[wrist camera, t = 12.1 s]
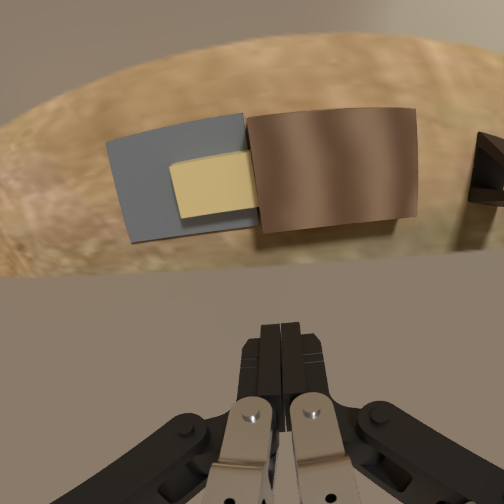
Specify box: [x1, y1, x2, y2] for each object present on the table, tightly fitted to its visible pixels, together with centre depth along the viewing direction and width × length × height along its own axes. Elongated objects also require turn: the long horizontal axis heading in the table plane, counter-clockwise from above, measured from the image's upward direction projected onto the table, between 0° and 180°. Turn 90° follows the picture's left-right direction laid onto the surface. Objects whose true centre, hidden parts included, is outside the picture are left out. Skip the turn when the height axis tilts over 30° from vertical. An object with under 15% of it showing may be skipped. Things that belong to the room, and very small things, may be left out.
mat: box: [106, 113, 259, 243], centre depth 33 cm, size 15×12×1 cm
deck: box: [247, 107, 418, 234], centre depth 30 cm, size 16×11×4 cm
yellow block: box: [169, 149, 259, 219], centre depth 31 cm, size 8×6×2 cm
